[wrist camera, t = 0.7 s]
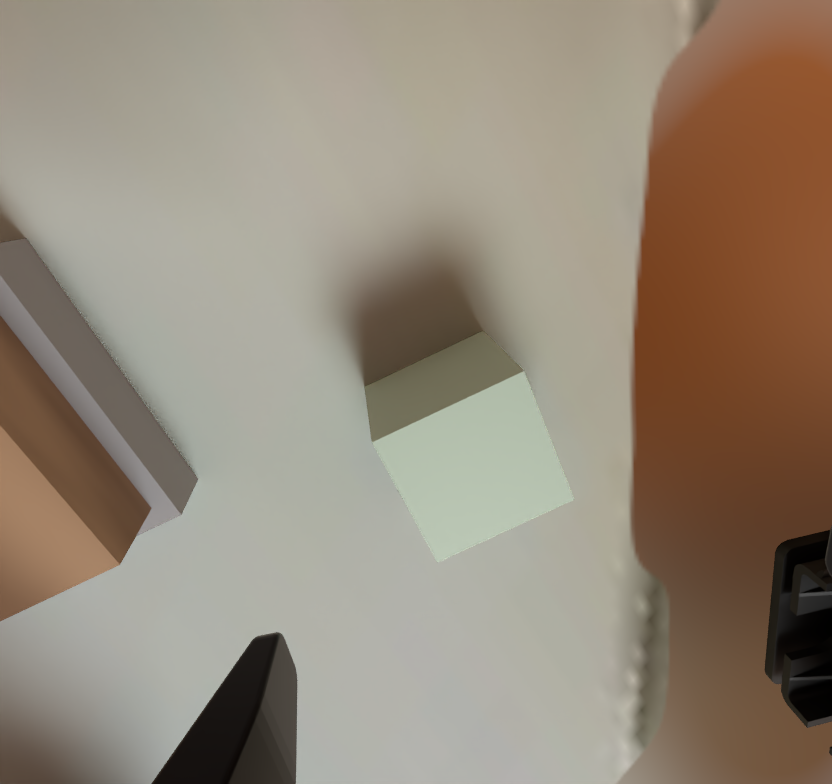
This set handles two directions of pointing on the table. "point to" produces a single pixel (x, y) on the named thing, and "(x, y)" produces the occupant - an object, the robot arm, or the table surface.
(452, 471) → the green cube
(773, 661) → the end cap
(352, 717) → the table surface
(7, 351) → the top slab
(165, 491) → the bottom slab
